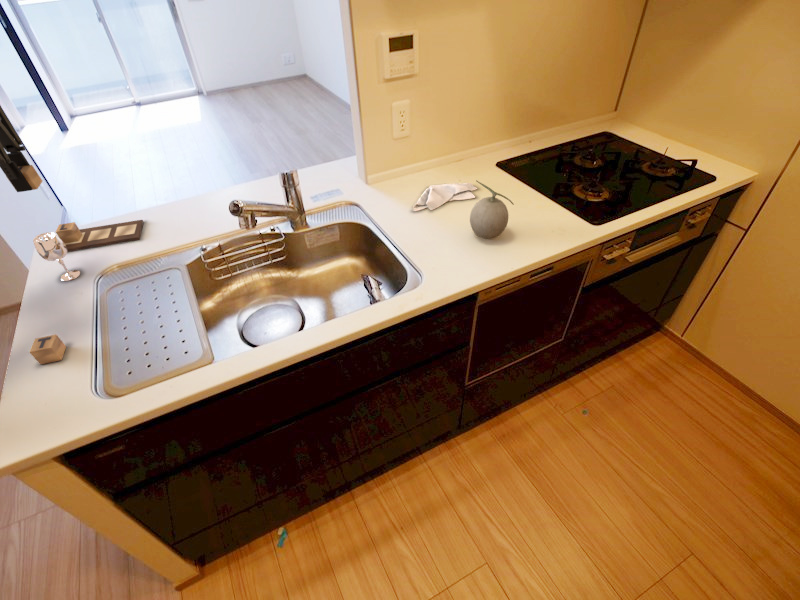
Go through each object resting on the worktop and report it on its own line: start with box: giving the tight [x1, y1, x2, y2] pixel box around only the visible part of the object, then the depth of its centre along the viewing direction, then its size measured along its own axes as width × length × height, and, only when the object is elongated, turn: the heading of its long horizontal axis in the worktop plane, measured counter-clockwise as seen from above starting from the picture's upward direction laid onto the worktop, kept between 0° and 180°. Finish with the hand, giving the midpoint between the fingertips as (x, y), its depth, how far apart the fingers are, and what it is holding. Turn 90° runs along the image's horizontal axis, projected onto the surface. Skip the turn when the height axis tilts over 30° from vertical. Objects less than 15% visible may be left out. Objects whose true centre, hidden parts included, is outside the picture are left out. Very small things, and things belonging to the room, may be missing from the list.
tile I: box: [5, 164, 43, 191], centre depth 94 cm, size 4×4×4 cm
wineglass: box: [32, 231, 81, 282], centre depth 108 cm, size 6×6×12 cm
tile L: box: [55, 222, 82, 243], centre depth 121 cm, size 4×4×4 cm
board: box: [64, 219, 145, 253], centre depth 125 cm, size 22×10×1 cm, turn 108°
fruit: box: [469, 180, 515, 240], centre depth 118 cm, size 10×12×15 cm
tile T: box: [29, 334, 67, 365], centre depth 90 cm, size 4×4×4 cm
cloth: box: [412, 182, 478, 212], centre depth 140 cm, size 26×14×2 cm, turn 115°
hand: (28, 185), depth 96 cm, fingers closed on tile I, 4 cm apart
